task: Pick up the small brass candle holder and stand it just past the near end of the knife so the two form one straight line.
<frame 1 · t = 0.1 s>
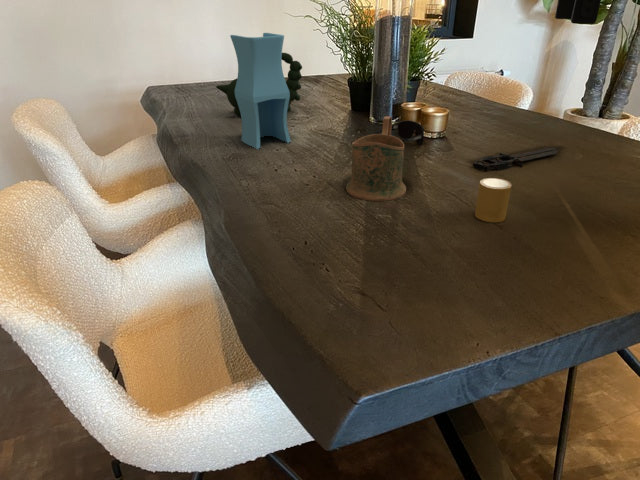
hand: (573, 21, 73), 30 cm above the table, tool pointing down, fingers open, 9 cm apart
knife: (519, 160, 110), on the table
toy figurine: (261, 115, 149), on the table
sunglasses: (395, 145, 121), on the table
candle holder: (490, 216, 84), on the table
bronze bell: (378, 184, 98), on the table
teal arched pillar: (264, 141, 124), on the table
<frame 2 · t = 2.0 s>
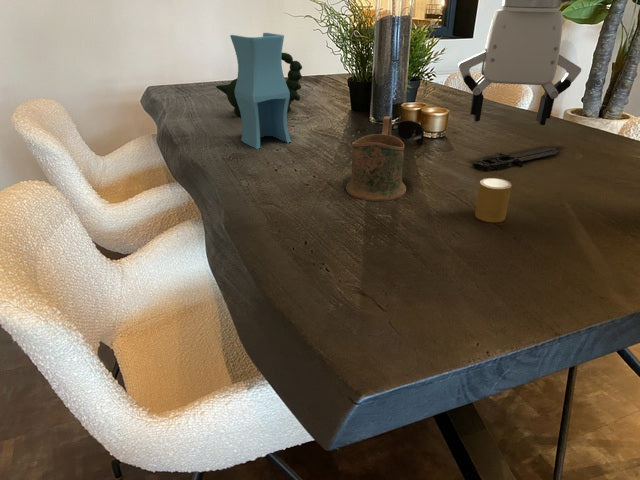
hand: (507, 121, 76), 16 cm above the table, tool pointing down, fingers open, 9 cm apart
nothing on the table moved.
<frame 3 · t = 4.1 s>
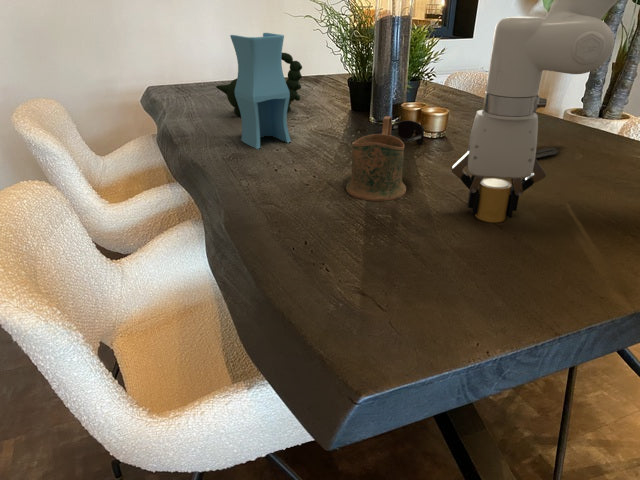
hand: (490, 211, 83), 1 cm above the table, tool pointing down, fingers closed on candle holder, 5 cm apart
candle holder: (490, 216, 84), on the table, touching gripper
everything else where it was.
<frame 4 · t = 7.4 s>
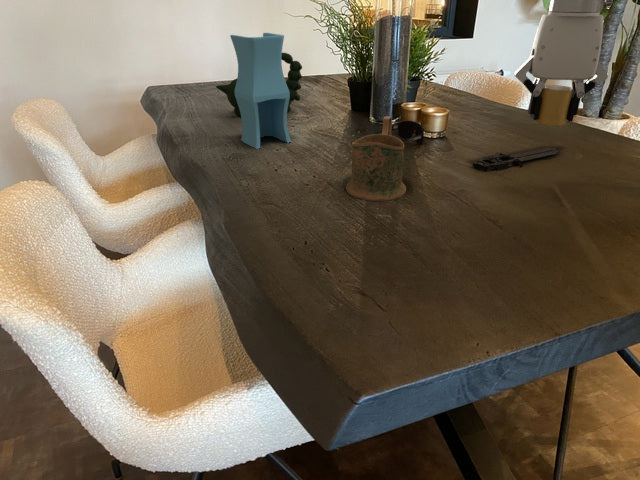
hand: (550, 117, 86), 14 cm above the table, tool pointing down, fingers closed on candle holder, 5 cm apart
candle holder: (549, 122, 87), point 13 cm above the table, touching gripper
everything else where it was.
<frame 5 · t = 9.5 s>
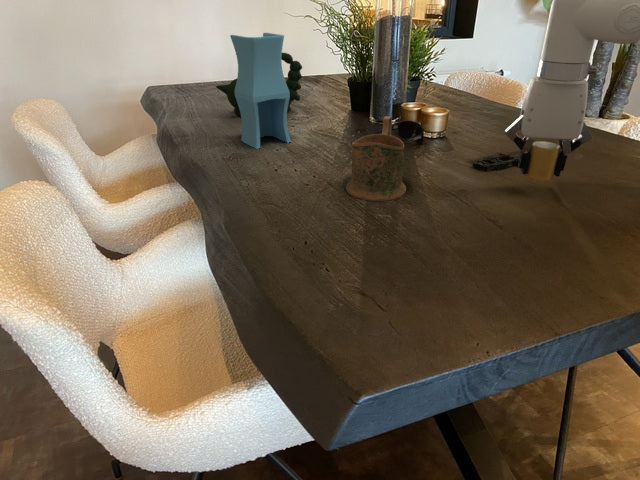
hand: (539, 172, 92), 4 cm above the table, tool pointing down, fingers closed on candle holder, 5 cm apart
candle holder: (538, 176, 92), point 3 cm above the table, touching gripper
everything else where it was.
when the fingers open (1 cm above the table, at t = 10.8 s): candle holder stays where it is, on the table.
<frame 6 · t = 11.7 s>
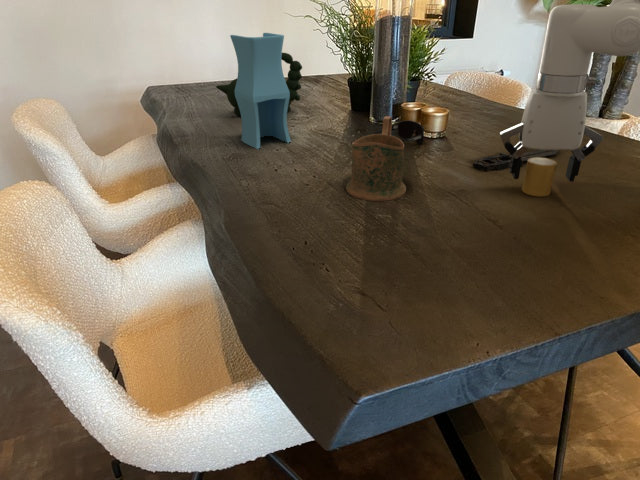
hand: (542, 177, 92), 3 cm above the table, tool pointing down, fingers open, 9 cm apart
candle holder: (535, 191, 93), on the table
everything else where it was.
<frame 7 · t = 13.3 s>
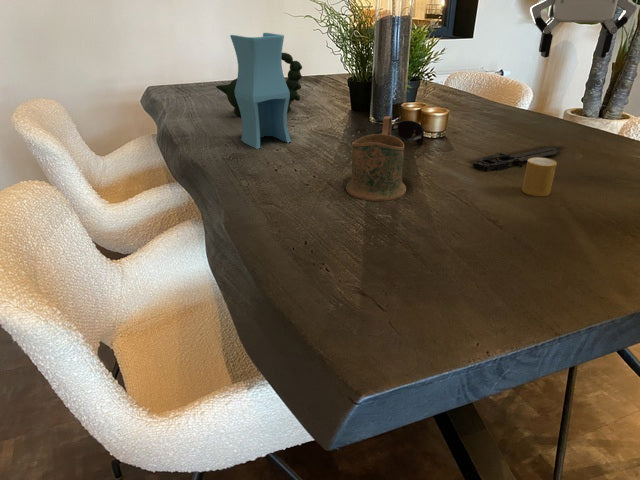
hand: (572, 56, 90), 23 cm above the table, tool pointing down, fingers open, 9 cm apart
nothing on the table moved.
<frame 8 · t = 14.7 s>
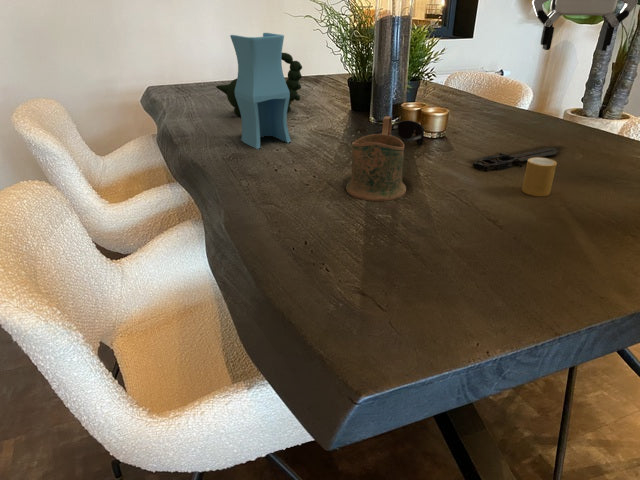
hand: (573, 49, 91), 24 cm above the table, tool pointing down, fingers open, 9 cm apart
nothing on the table moved.
at the end: candle holder 0.2 cm from the target spot on the table beside the knife, on the table; candle holder tilted 0°; knife moved 0.2 cm from its start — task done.
